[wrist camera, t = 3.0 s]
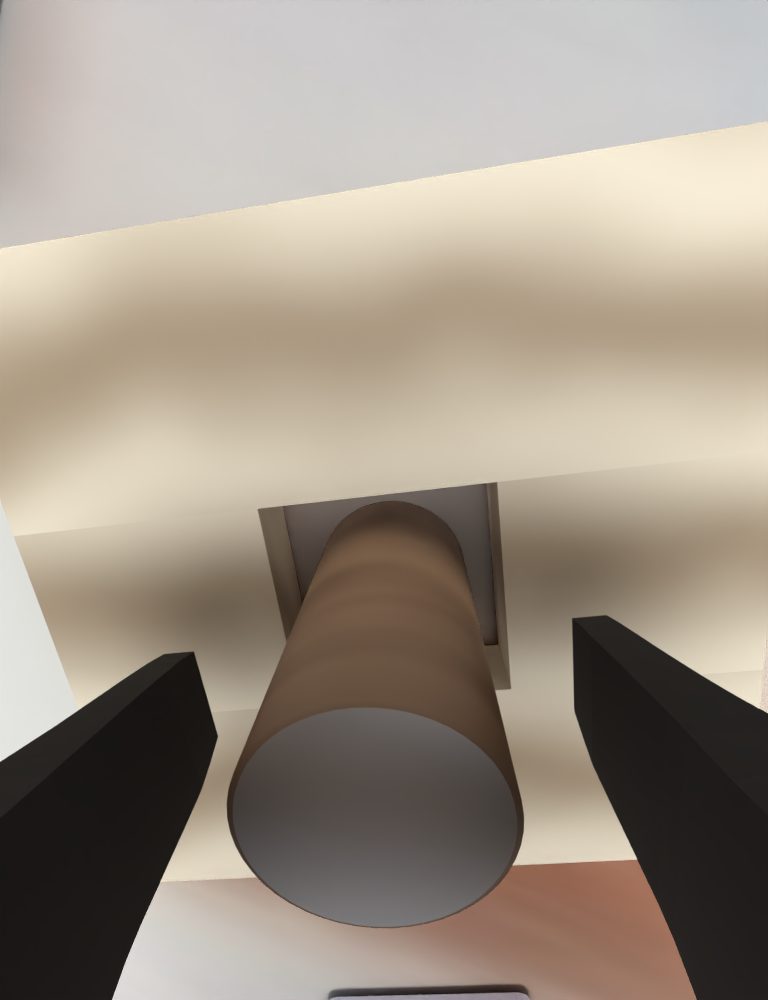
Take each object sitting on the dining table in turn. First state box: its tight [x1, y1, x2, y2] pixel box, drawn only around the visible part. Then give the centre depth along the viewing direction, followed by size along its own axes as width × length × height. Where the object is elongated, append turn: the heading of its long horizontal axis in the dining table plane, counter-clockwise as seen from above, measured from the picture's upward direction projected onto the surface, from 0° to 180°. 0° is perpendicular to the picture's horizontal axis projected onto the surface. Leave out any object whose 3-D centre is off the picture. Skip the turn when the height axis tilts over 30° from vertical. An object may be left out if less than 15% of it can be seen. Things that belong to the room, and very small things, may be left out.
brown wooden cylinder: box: [227, 501, 524, 928], centre depth 11 cm, size 4×4×8 cm
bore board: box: [0, 121, 768, 882], centre depth 13 cm, size 18×18×2 cm
